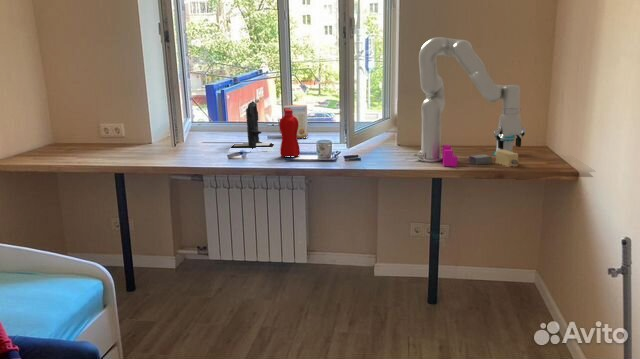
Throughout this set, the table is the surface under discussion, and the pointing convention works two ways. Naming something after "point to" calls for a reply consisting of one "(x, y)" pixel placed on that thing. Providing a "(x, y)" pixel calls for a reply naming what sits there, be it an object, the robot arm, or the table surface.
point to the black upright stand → (253, 129)
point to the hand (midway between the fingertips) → (509, 147)
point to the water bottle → (289, 134)
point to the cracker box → (299, 118)
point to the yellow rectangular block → (506, 158)
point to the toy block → (449, 156)
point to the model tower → (506, 144)
